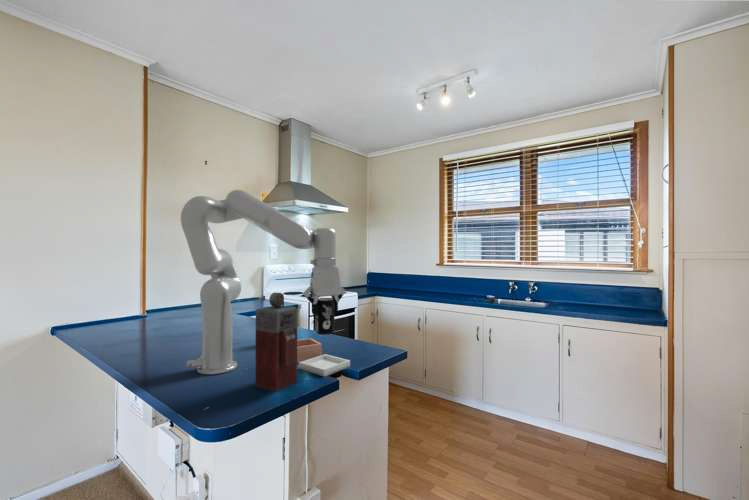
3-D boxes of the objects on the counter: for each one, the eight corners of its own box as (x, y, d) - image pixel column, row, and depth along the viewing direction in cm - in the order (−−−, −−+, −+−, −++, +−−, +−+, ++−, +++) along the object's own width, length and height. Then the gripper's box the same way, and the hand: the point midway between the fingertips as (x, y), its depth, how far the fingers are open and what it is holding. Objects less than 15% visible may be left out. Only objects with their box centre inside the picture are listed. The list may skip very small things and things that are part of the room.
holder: (294, 363, 125) (294, 348, 125) (284, 355, 134) (284, 341, 135) (321, 358, 131) (321, 344, 131) (311, 351, 140) (311, 338, 140)
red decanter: (283, 392, 98) (284, 295, 99) (254, 386, 103) (255, 293, 104) (303, 382, 106) (303, 292, 107) (275, 376, 111) (275, 290, 112)
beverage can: (338, 332, 122) (338, 298, 122) (326, 335, 116) (326, 300, 116) (324, 330, 125) (324, 297, 125) (311, 333, 119) (311, 299, 120)
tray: (324, 376, 111) (324, 369, 112) (298, 368, 119) (298, 362, 119) (350, 366, 121) (350, 360, 121) (325, 359, 129) (325, 354, 129)
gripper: (305, 264, 113) (305, 318, 113) (351, 263, 122) (351, 313, 122) (297, 263, 119) (297, 315, 119) (342, 262, 129) (342, 310, 128)
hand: (325, 313), depth 121 cm, fingers closed on beverage can, 6 cm apart
